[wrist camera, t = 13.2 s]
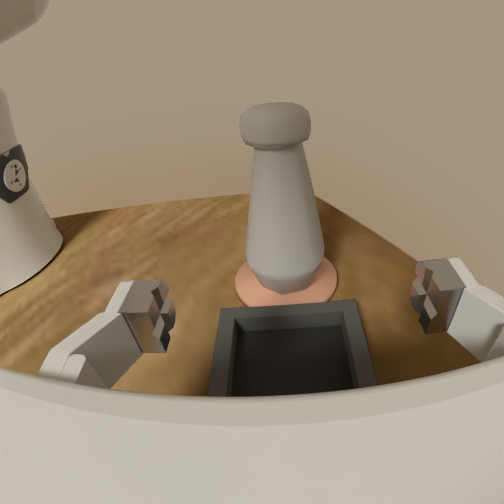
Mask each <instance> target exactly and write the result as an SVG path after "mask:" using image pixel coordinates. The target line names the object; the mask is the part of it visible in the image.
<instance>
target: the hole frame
mask: <svg viewBox="0 0 504 504" xmlns="http://www.w3.org/2000/svg"><path fill="white" fill-rule="evenodd" d="M371 386H377V382H376V378H375V373H374V369H373V365H372V361H371V357H370V353H369V350H368V346H367V342H366V338H365V335H364V331H363V327H362V324H361V320H360V317H359V313H358V310H357V306H356V303H355V299H352V300H341V301H329V302H317V303H304V304H290V305H274V306H257V307H237V308H221V311H220V317H219V323H218V330H217V336H216V342H215V349H214V355H213V362H212V368H211V375H210V382H209V388H208V395H207V396H209V397H253V396H281V395H297V394H311V393H322V392H332V391H341V390H350V389H357V388H365V387H371Z"/></svg>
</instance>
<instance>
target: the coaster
mask: <svg viewBox="0 0 504 504" xmlns="http://www.w3.org/2000/svg"><path fill="white" fill-rule="evenodd" d="M235 286H236V291H237V295H238V297H239V299H240V301H241V302H242V303H243V304H244V305H245V306H246V307H257V306H274V305H290V304H304V303H317V302H329V301H330V300H331V298H332V297H333V295H334V293H335V291H336V286H337V273H336V270H335V268H334V266H333V265H332V263H331V262H330V261H329V260H328V259H326V258H325V257H323V262H322V265H321V267H320V268H319V269H318V271H317V272H316V274H315V275H314V277H313V278H312V279H311V281H310V282H309V284H308V286H307V288H306V290H302V291H298V292H293V293H289V294H285V295H280V294H278V293H276V292H274V291H271V290H269V289H267V288H265V287H263V286H262V285H261V284H260V282H259V281H258V279H257V278H256V277H255V275H254V274H253V272H252V271H251V269H250V267H249V263H248V260H247V261H246V262H245V263H244V264H243V265H242V266H241V267H240V269H239V270H238V272H237V274H236V278H235Z"/></svg>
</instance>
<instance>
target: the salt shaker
mask: <svg viewBox="0 0 504 504" xmlns="http://www.w3.org/2000/svg"><path fill="white" fill-rule="evenodd" d="M239 127H240V132H241V137H242V139H243V141H244V142H245V144H246V145H249V146H252V147H254V155H253V167H252V179H251V192H250V204H249V216H248V228H247V241H246V257H247V260H248V263H249V267H250V269H251V271H252V272H253V274H254V275H255V277H256V278H257V279H258V281H259V282H260V284H261V285H262V286H263V287H265V288H267V289H269V290H271V291H274V292H276V293H278V294H280V295H285V294H289V293H293V292H298V291H302V290H306V288H307V286H308V284H309V282H310V281H311V279H312V278H313V277H314V275H315V274H316V272H317V271H318V269H319V268H320V267H321V265H322V262H323V257H324V250H325V246H324V241H323V235H322V230H321V225H320V220H319V215H318V211H317V206H316V201H315V196H314V192H313V187H312V183H311V178H310V174H309V170H308V165H307V161H306V157H305V153H304V149H303V145H302V142H304V141H306V140H308V138H309V135H310V132H311V120H310V116H309V112H308V110H306V109H305V108H304V107H303V106H301V105H298V104H294V103H287V102H278V103H266V104H259V105H255V106H253V107H250V108H248V109H246V110H245V111H244V112H243V113H242V114H241V116H240V126H239Z"/></svg>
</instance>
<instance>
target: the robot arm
mask: <svg viewBox="0 0 504 504" xmlns="http://www.w3.org/2000/svg"><path fill="white" fill-rule="evenodd" d="M48 3H49V0H0V44H1V43H3V42H5V41H7V40H9V39H10V38H12V37H14V36H15V35H17V34H19V33H20V32H22V31H24V30H25V29H27V28H28V27H30V26H32V25H33V24H35V23H37V22H38V21H39V19H40V18H41V17H42V15H43V14H44V12H45V10H46V8H47V6H48ZM25 157H26V156H25V153H24V152H23V149H22V146H21V145H19V144H18V143H17V140H16V136H15V132H14V128H13V124H12V119H11V115H10V110H9V106H8V101H7V96H6V94H5V92H4V91H3V89H2V88H1V87H0V294H2V293H4V292H6V291H8V290H10V289H12V288H14V287H16V286H17V285H19V284H21V283H23V282H24V281H26V280H27V279H29V278H30V277H32V276H33V275H34V274H36V273H37V272H38V271H39V270H41V269H42V268H43V267H44V266H45V265H46V264H47V263H48V262H49V261H50V260H51V259H52V258H53V257H54V256H55V255H56V253H57V252H58V250H59V249H60V247H61V245H62V242H63V237H62V235H61V233H60V232H59V231H58V229H57V228H56V224H55V222H54V220H53V219H50V217H49V215H48V213H47V211H46V210H45V207H44V205H43V203H42V201H41V199H40V197H39V195H38V193H37V191H36V189H35V187H34V185H33V183H32V182H31V181H30V179H29V177H28V165H27V162H26V159H25ZM415 273H416V275H417V276H418V277H417V278H416V279H415V280H414V281H413V282H412V287H411V301H412V305H413V307H414V310H415V311H417V312H418V313H420V314H421V315H420V318H419V321H420V323H421V325H422V327H423V330H424V332H425V334H431V333H438V332H444V331H447V333H449V334H450V335H451V336H452V337H453V338H454V339H455V340H457V341H458V342H459V343H460V344H461V345H462V346H463V347H464V348H466V349H467V350H468V351H469V352H470V353H471V354H472V355H473V356H474V357H475V358H477V359H478V360H479V361H480V362H481V363H479V364H475V365H472V366H468V367H464V368H460V369H456V370H452V371H448V372H444V373H440V374H436V375H431V376H427V377H422V378H417V379H412V380H407V381H401V382H396V383H390V384H384V385H378V386H371V387H365V388H357V389H350V390H341V391H332V392H322V393H311V394H297V395H281V396H253V397H209V396H182V395H165V394H152V393H141V392H131V391H122V390H114V389H110V388H111V387H112V386H113V385H114V384H115V383H116V382H117V381H118V380H119V379H120V378H121V377H122V376H123V375H124V373H125V372H126V371H127V370H128V369H129V368H130V367H131V366H132V365H133V364H134V363H135V362H136V361H137V360H138V358H139V357H140V356H141V355H142V354H143V353H166V351H167V347H168V344H169V341H170V335H169V333H168V332H169V331H170V330H171V329H172V328H173V327H174V323H175V306H174V303H173V300H172V299H171V298H170V297H168V296H167V293H168V290H169V289H168V286H167V284H166V281H164V280H136V281H135V280H131V281H122V282H120V284H119V286H118V287H117V289H116V291H115V293H114V295H113V297H112V299H111V300H110V302H109V304H108V306H107V308H106V310H105V312H104V313H100V314H98V315H97V316H95V317H94V318H93V319H91V320H90V321H89V322H87V323H86V324H84V325H83V326H82V327H80V328H79V329H78V330H76V331H75V332H74V333H72V334H71V335H70V336H68V337H67V338H66V339H64V340H63V341H62V342H60V343H59V344H58V345H56V346H55V347H54V348H52V349H51V350H50V352H49V354H48V355H47V357H46V359H45V361H44V363H43V365H42V367H41V369H40V371H39V373H38V375H37V376H34V375H30V374H26V373H21V372H17V371H13V370H10V369H6V368H2V367H0V504H504V297H502V296H501V295H499V294H497V293H496V292H494V291H492V290H490V289H489V288H487V287H485V286H483V285H482V286H480V285H479V284H478V283H477V281H476V280H475V278H474V277H473V276H472V274H471V273H470V271H469V270H468V269H467V267H466V266H465V265H464V263H463V262H462V261H461V259H460V258H458V257H449V258H444V259H436V260H426V261H419V262H418V263H417V265H416V269H415Z"/></svg>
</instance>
